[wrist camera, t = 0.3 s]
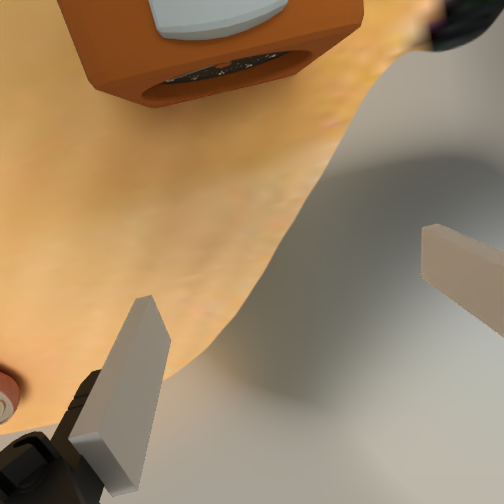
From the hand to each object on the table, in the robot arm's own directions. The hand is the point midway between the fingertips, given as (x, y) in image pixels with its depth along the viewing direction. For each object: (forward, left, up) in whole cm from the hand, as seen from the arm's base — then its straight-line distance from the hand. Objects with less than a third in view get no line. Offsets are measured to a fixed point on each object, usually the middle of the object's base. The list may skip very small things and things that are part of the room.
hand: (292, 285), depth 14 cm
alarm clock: (-16, 0, -28) cm, 32 cm away
